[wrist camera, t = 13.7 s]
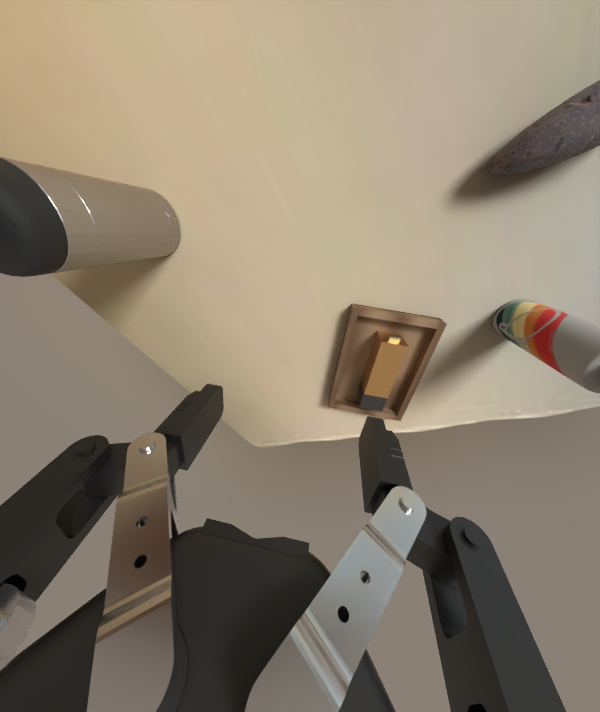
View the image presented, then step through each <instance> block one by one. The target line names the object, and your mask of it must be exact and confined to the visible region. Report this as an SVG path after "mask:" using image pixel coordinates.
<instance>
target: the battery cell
mask: <svg viewBox="0 0 600 712" xmlns="http://www.w3.org/2000/svg"><path fill="white" fill-rule="evenodd" d="M408 347H409V346H408V344H407V343H406V341H405V339H404V338H403V336H402V335H401V334H395V333H389V332H384V331H378V330H377V333H376V336H375V339H374V342H373V345H372V348H371V352H370V355H369V358H368V361H367V364H366V367H365V370H364V373H363V377H362V380H361V383H360V386H359V389H358V399H359V407H361V408H366V409H371V410H376V411H381V412H382V411H383V409H384V406H385V404H386V401H387V399H388V396H389V394H390V391H391V389H392V387H393V384H394V382H395V379H396V377H397V374H398V372H399V369H400V367H401V365H402V362H403V360H404V357H405V355H406V352H407V350H408Z"/></svg>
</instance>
